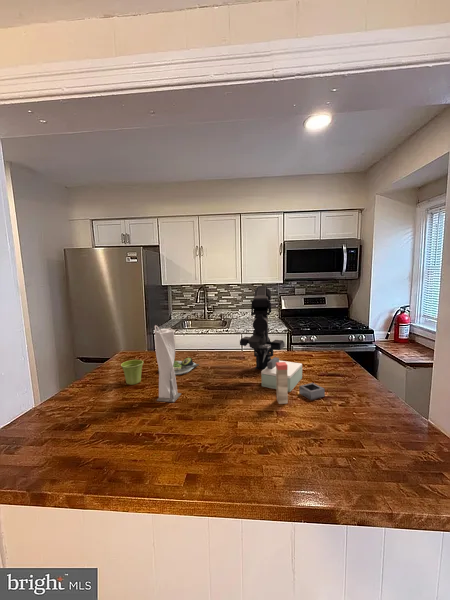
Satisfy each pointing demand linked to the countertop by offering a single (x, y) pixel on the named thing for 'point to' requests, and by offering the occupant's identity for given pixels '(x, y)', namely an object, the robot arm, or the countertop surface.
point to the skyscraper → (166, 364)
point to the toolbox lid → (271, 367)
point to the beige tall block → (281, 382)
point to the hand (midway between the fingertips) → (262, 362)
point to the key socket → (311, 391)
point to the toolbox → (292, 382)
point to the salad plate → (183, 366)
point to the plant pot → (132, 371)
